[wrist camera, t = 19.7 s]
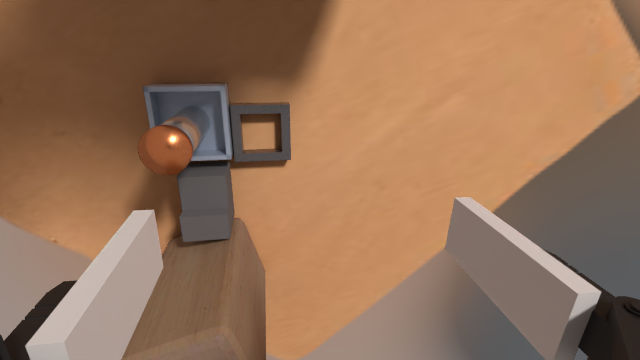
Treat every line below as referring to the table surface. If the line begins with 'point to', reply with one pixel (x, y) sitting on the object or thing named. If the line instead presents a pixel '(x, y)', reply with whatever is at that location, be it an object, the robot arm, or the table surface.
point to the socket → (260, 154)
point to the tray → (205, 96)
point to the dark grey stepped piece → (206, 201)
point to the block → (205, 303)
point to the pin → (173, 141)
